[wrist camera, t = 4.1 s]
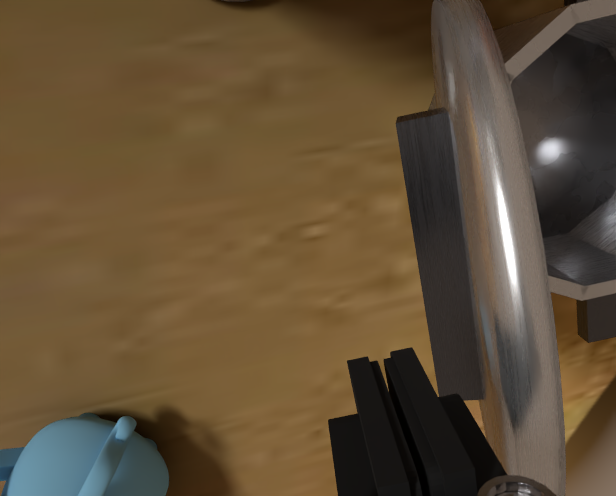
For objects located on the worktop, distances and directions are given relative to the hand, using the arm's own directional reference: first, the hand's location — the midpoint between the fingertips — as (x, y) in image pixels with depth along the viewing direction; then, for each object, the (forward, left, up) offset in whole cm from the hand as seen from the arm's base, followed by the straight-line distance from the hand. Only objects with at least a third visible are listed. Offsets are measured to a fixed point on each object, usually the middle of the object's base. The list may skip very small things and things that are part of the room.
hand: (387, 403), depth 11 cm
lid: (0, +6, -7) cm, 9 cm away
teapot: (+21, -25, -27) cm, 43 cm away
